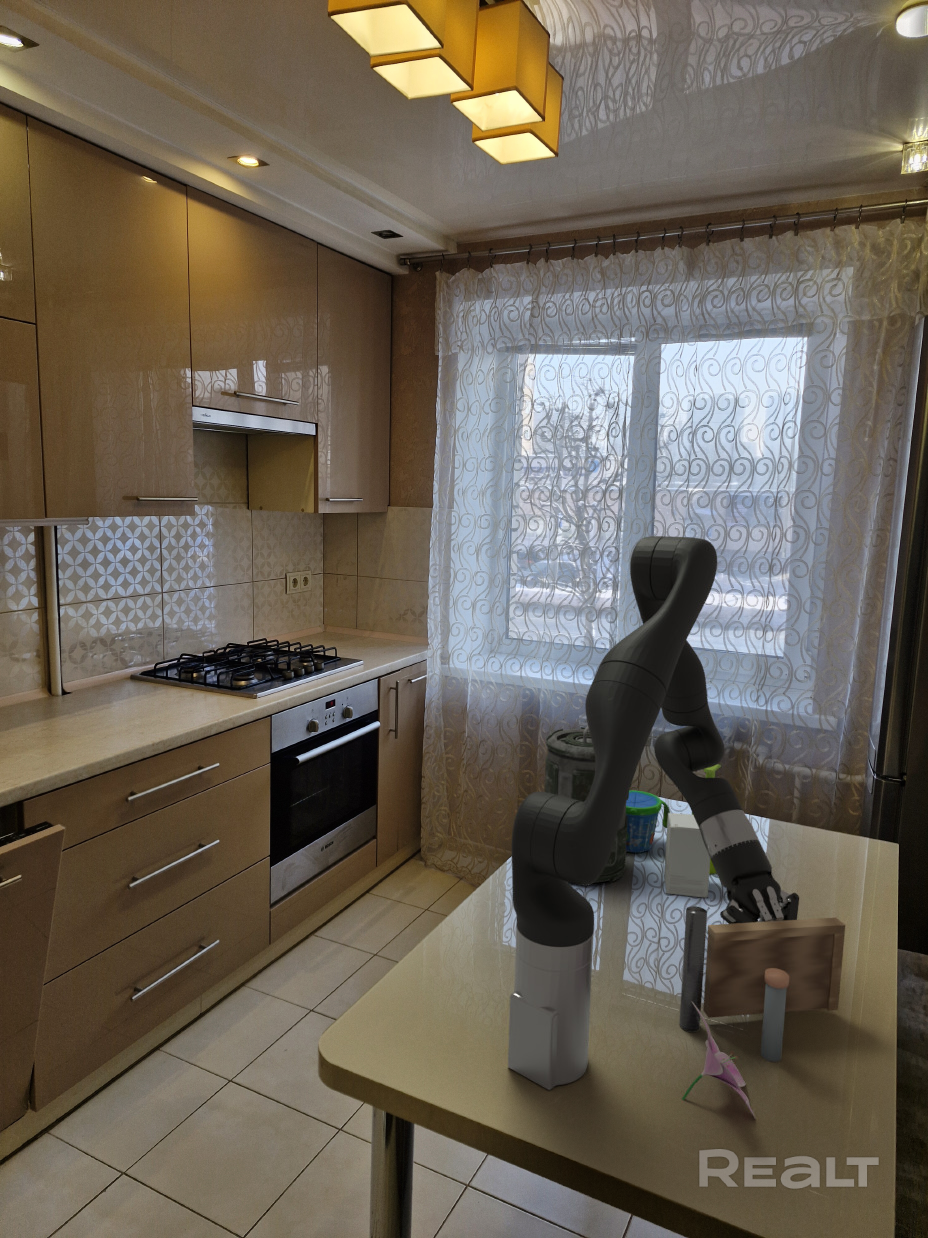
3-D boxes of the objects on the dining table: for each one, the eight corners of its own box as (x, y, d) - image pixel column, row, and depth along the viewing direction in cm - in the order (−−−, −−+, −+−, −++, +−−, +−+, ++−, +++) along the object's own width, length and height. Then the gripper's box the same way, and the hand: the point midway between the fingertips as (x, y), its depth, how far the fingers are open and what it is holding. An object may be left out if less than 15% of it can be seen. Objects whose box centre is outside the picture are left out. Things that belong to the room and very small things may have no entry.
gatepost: (694, 1035, 104) (702, 918, 102) (675, 1026, 106) (682, 911, 104) (702, 1025, 106) (710, 910, 104) (684, 1017, 108) (691, 904, 106)
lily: (736, 1167, 85) (784, 1089, 84) (639, 1086, 90) (684, 1013, 90) (744, 1126, 95) (786, 1057, 95) (657, 1056, 100) (697, 990, 100)
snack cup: (604, 859, 158) (606, 809, 157) (587, 838, 168) (589, 791, 167) (679, 855, 160) (682, 806, 159) (658, 835, 171) (661, 788, 170)
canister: (550, 846, 163) (555, 711, 160) (629, 858, 159) (636, 719, 155) (532, 879, 148) (538, 731, 145) (619, 893, 144) (627, 740, 140)
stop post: (778, 1066, 99) (784, 983, 97) (755, 1056, 101) (761, 975, 99) (786, 1055, 101) (792, 974, 100) (763, 1045, 103) (769, 965, 101)
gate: (709, 1020, 105) (714, 933, 104) (702, 1011, 107) (707, 925, 106) (838, 1010, 108) (845, 925, 107) (829, 1001, 110) (836, 917, 109)
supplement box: (708, 899, 142) (712, 830, 141) (665, 894, 144) (669, 826, 142) (704, 880, 150) (708, 815, 148) (663, 876, 151) (667, 811, 149)
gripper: (710, 844, 114) (766, 972, 104) (783, 832, 118) (843, 953, 109) (684, 864, 119) (735, 987, 110) (755, 852, 124) (810, 968, 115)
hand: (789, 970), depth 109 cm, fingers closed
